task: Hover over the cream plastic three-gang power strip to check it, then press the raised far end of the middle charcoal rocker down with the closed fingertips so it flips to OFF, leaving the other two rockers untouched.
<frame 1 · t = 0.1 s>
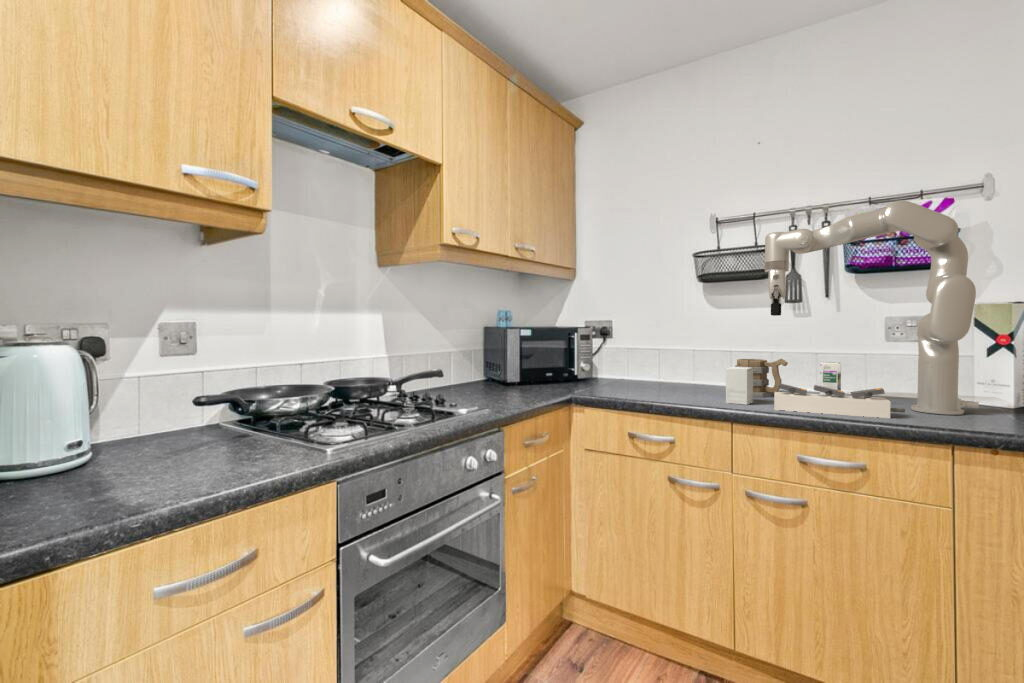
hand: (775, 315, 172), 31 cm above the worktop, tool pointing down, fingers open, 9 cm apart
power strip: (828, 412, 152), on the worktop
tankard: (760, 396, 186), on the worktop
rocker 3: (792, 389, 157), point 6 cm above the worktop, hinge at -13.0°
supplement box: (739, 403, 171), on the worktop
rocker 2: (828, 391, 152), point 6 cm above the worktop, hinge at -13.0°
rocker 1: (867, 393, 147), point 6 cm above the worktop, hinge at 13.0°
syrup box: (829, 403, 168), on the worktop
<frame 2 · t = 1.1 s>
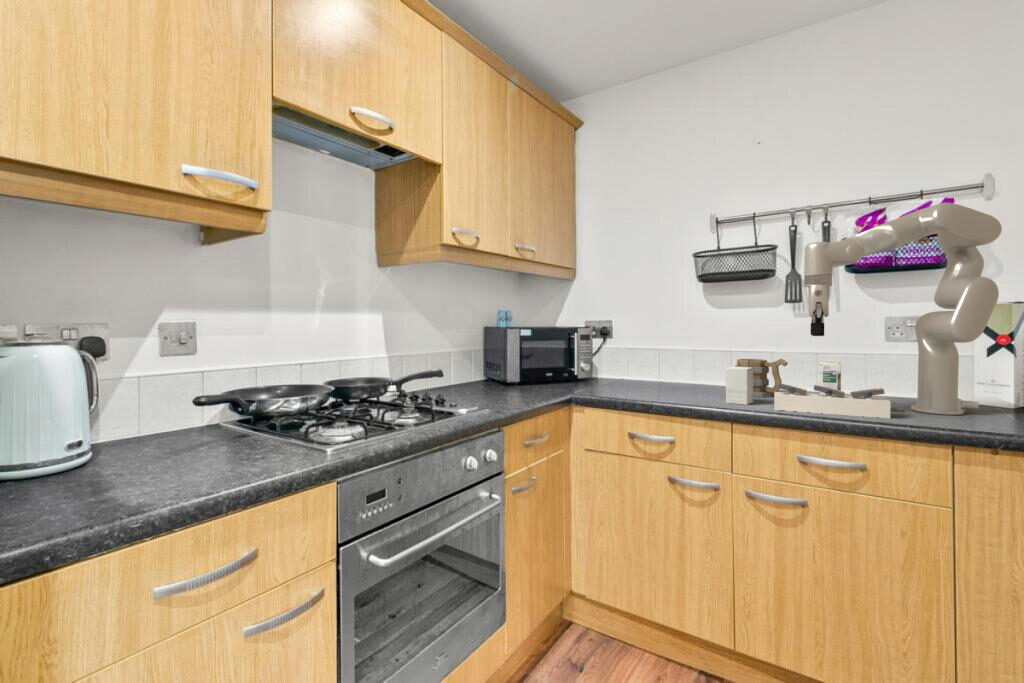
hand: (817, 335, 153), 24 cm above the worktop, tool pointing down, fingers open, 9 cm apart
nothing on the worktop moved.
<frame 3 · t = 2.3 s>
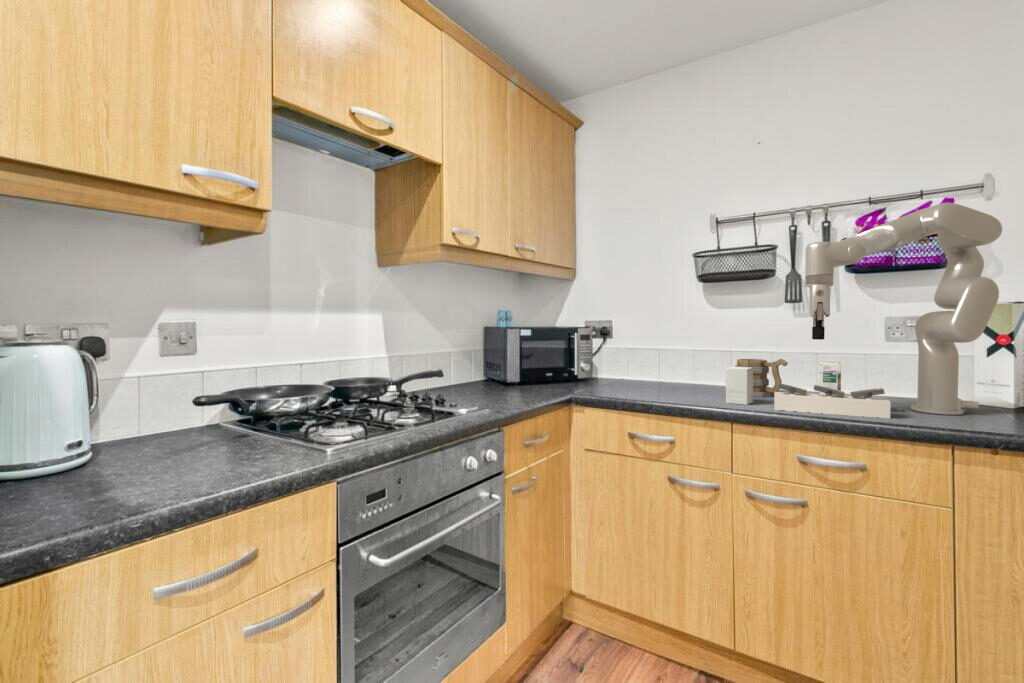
hand: (818, 339, 153), 23 cm above the worktop, tool pointing down, fingers closed
nothing on the worktop moved.
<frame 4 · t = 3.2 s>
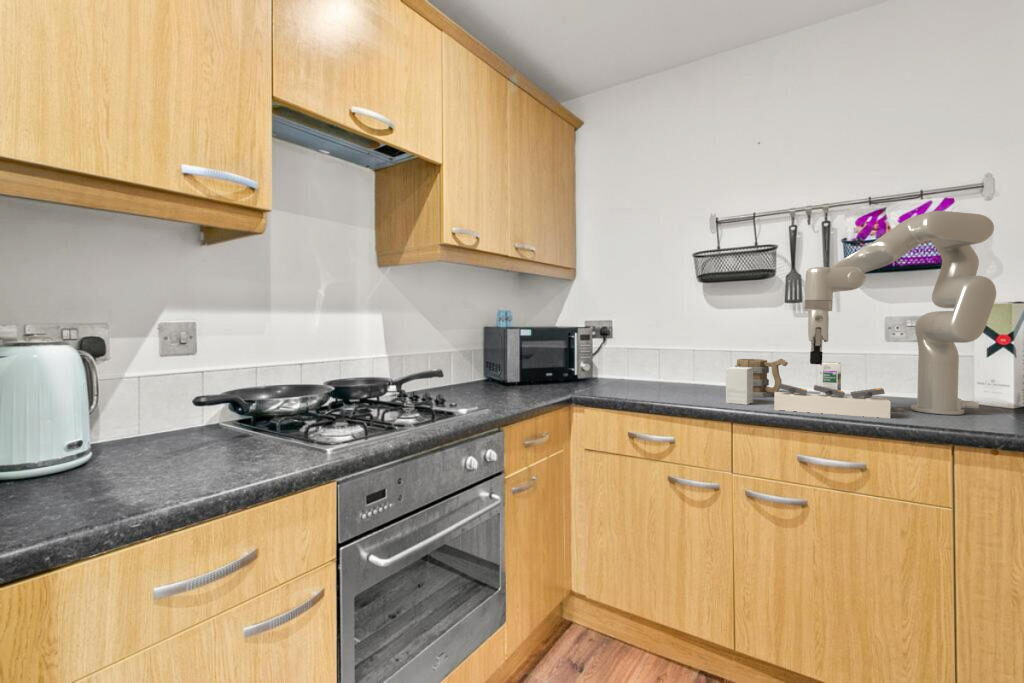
hand: (815, 363, 153), 15 cm above the worktop, tool pointing down, fingers closed
nothing on the worktop moved.
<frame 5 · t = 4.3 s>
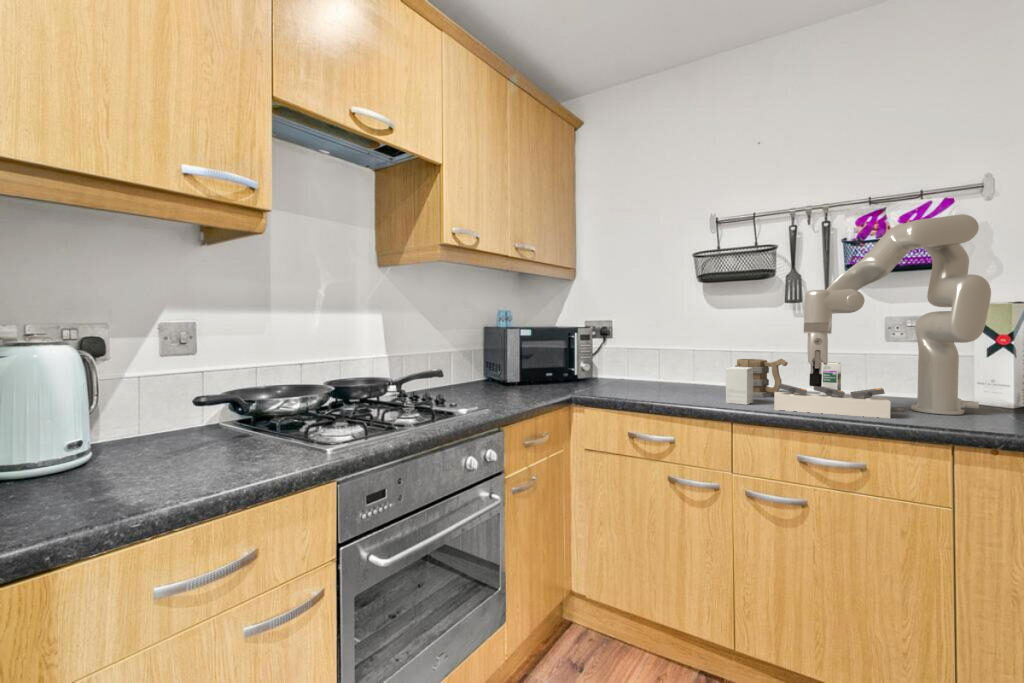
hand: (815, 386, 153), 8 cm above the worktop, tool pointing down, fingers closed
rocker 2: (828, 391, 152), point 6 cm above the worktop, hinge at -12.2°, touching gripper
everything else where it was.
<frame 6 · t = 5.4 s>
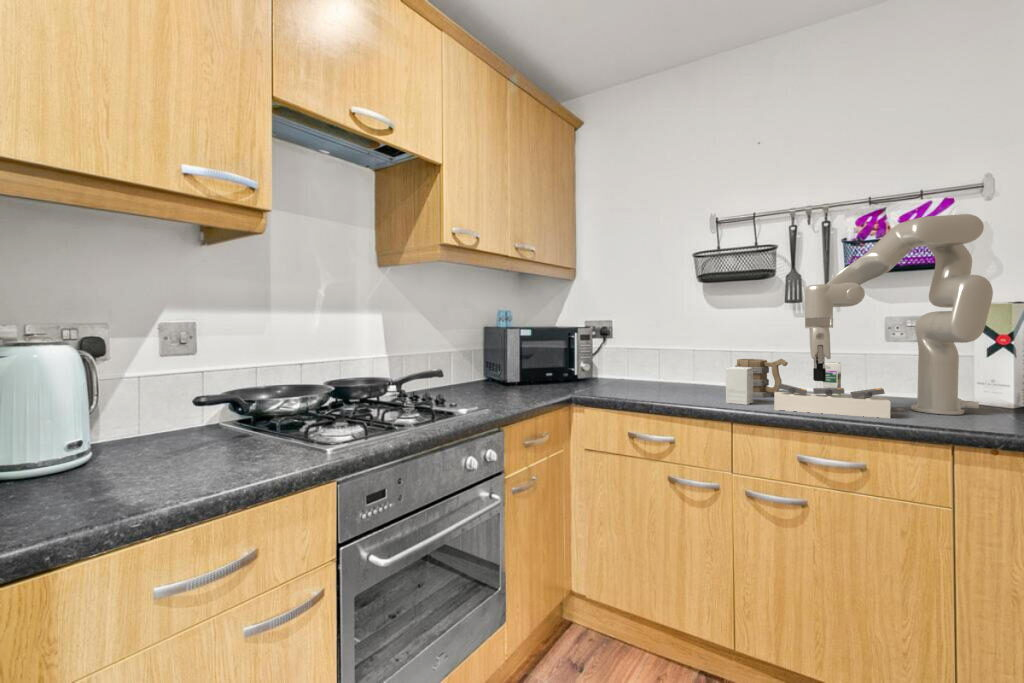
hand: (819, 380, 153), 10 cm above the worktop, tool pointing down, fingers closed
rocker 2: (828, 391, 152), point 6 cm above the worktop, hinge at 3.6°
everything else where it was.
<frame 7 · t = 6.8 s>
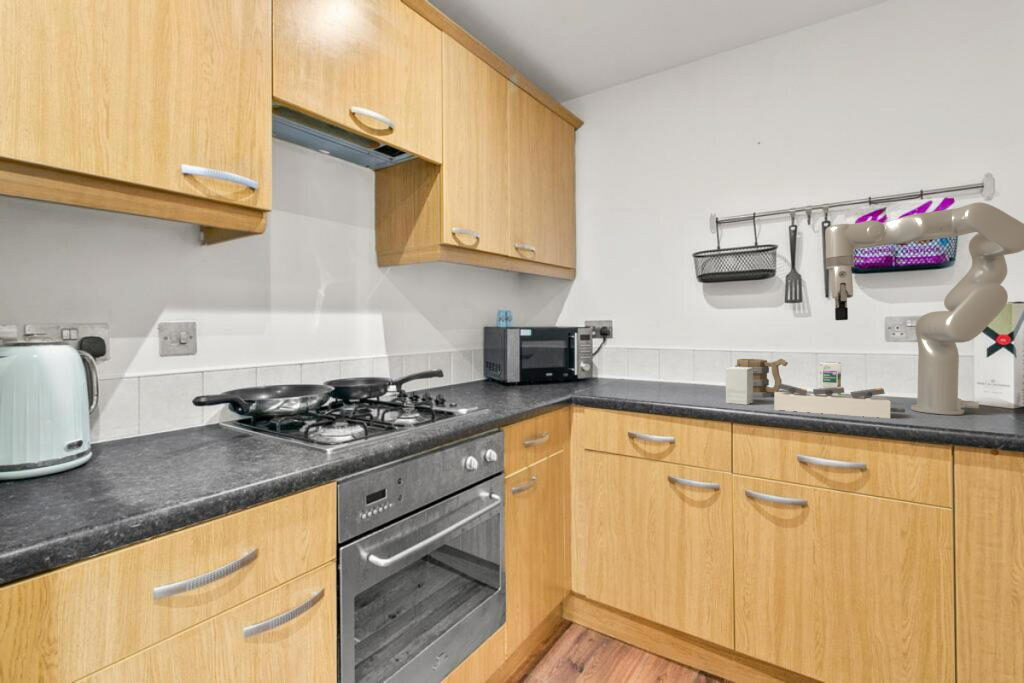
hand: (841, 320, 155), 29 cm above the worktop, tool pointing down, fingers closed
rocker 2: (828, 391, 152), point 6 cm above the worktop, hinge at 8.2°
everything else where it was.
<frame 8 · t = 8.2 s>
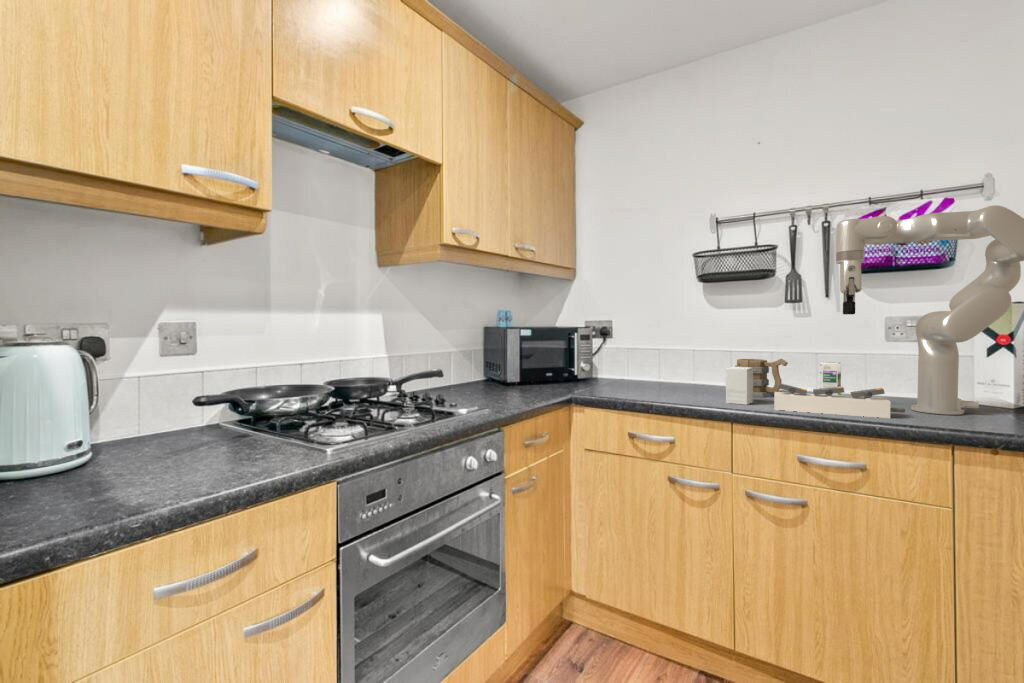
hand: (848, 314, 157), 31 cm above the worktop, tool pointing down, fingers closed
rocker 2: (828, 391, 152), point 6 cm above the worktop, hinge at 9.5°
everything else where it was.
at the end: rocker 2 at +10° (first picture: -13°); rocker 3 at -13° (first picture: -13°); rocker 1 at +13° (first picture: +13°) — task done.
